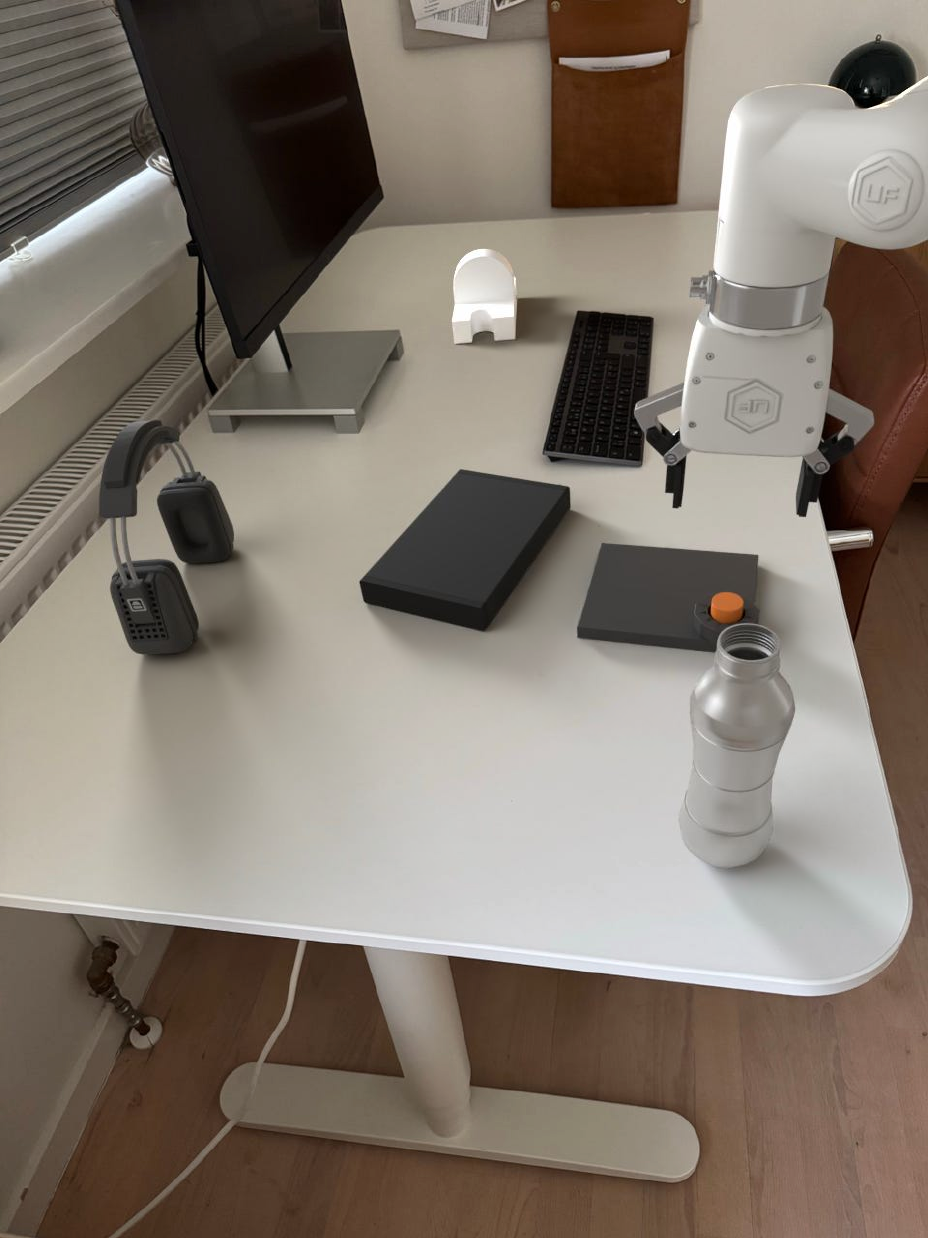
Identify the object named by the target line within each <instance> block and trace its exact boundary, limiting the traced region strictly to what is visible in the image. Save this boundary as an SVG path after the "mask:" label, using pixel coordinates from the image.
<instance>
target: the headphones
mask: <svg viewBox="0 0 928 1238" xmlns="http://www.w3.org/2000/svg"><path fill="white" fill-rule="evenodd" d="M173 443H174V445H175V446H176V447H177V448H178V449H179V451H180V453H181V454H182V455H183V458H184V459H185V462H186V464H187V466H188V469H189V472H188V471H186V467H185V465H184V462H183V460H182V458H181V456H180V454H179V453H178V450H176V448H175V446H174V445H173ZM163 444H164V445H165V446H166V447H167V448H168V449H169V450H170V451H171V453H172V454H173V456H174V458H175V460H176V462H177V465H178V466H179V468H180V472H181V475H180V477H174V478H173V479H172V480H171V481H170V482H167V483H166V484H165V485H163V486H162V488H161V489H160V490H159V493H158V494H157V497H156V506H157V509H158V512H159V515H160V516H161V519H162V523H163V525H164V527H165V530H166V532H167V535H168V537H169V540H170V542H171V545H172V547H173V550H174V552H175V554H176V556H177V558H178V559H179V561H181V562H183V563H186V564H206V563H217V562H222V561H225V560H226V559H228V557H230V554H231V553H232V552H233V550H234V541H235V532H234V531H235V530H234V527H233V523H232V520H231V517H230V515H229V512H228V509H227V508H226V505H225V503H224V501H223V497H222V496H221V493H220V491H219V489H218V487H217V485H216V484H215V482H213V481H212V480H211V479H207V477H206V476H205V475H202V473H201V471H196V470H195V468H194V465H193V462H192V459H191V458H190V456H189V453H188V452H187V450H186V448H185V447H184V446H183V445H182V444H183V443H181V442H180V431H179V430H178V429H176V428H175V427H172V426H168V425H163V423H162V420H159V419H152V420H140V421H133V422H130V423H129V424H127V425H125V426H124V427H123V428H122V429H121V430H120V431H119V433H118V434H117V435H116V437H115V439H114V441H113V443H112V444H111V446H110V448H109V450H108V453H107V456H106V457H105V460H104V464H103V468H102V471H101V472H102V473H101V476H100V477H101V478H100V485H99V494H98V516H99V517H100V518H103V519H109V525H110V526H109V528H110V529H109V531H110V542H111V546H112V553H113V557H114V560H115V565H116V569H115V571H114V572H113V574H112V577H111V580H110V586H109V592H110V596H111V600H112V602H113V605H114V608H115V611H116V615H117V617H118V620H119V623H120V625H121V628H122V631H123V634H124V638H125V640H126V643H127V645H128V647H129V649H130V650H131V651H132V652H133V653H136V654H138V655H144V656H145V655H160V654H162V655H163V654H164V655H165V654H177V653H182V652H185V651H187V650H189V648H190V647H191V645H192V644H193V643H194V642H196V640H197V638H198V635H199V628H200V621H199V618H198V615H197V612H196V610H195V607H194V604H193V602H192V600H191V597H190V595H189V592H188V589H187V587H186V584H185V582H184V579H183V577H182V574H181V571H180V570H179V568H178V566H177V565H176V563H175V562H174V561H172V560H170V559H166V558H150V559H138V560H132V557H131V553H130V547H129V541H128V533H127V532H128V531H127V518H134V517H137V515H138V487H137V484H138V483H139V481H140V479H141V476H142V473H143V469H144V465H145V463H146V461H147V458H148V457H149V454H150V453H151V451H152V450H153V449H154V448H155V446H157V445H163ZM117 519H120V534H121V543H122V549H123V554H124V558H125V562H122V560H121V559H122V558H121V555H120V551H119V547H118V546H119V545H118V537H117Z"/></svg>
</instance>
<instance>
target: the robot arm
mask: <svg viewBox="0 0 928 1238" xmlns="http://www.w3.org/2000/svg"><path fill="white" fill-rule="evenodd" d="M722 163H723V164H722V172H721V185H720V193H719V194H720V195H719V203H718V204H719V205H718V215H717V224H716V236H715V247H714V257H713V270H708V274H702V276H691V277H690V284H689V285H690V287H689V298H699V300H705V304H706V305H705V306H703V307H702V308H701V310H700V312H699V315H698V317H697V321H696V322H695V326H694V330H693V332H692V337H691V340H690V345H689V353H688V356H687V362H686V367H685V368H686V369H685V376H684V381H683V382H681V383H679V384H676V385H674V386H672V387H669V388H667V389H665V390H662V391H660V392H657V393H655V394H652V395H650V396H648V397H645V398H643V399H641V400H638V401H637V402H636V403H635V407H634V411H633V416H634V418H635V420H636V421H637V424H638V426H639V427H640V429H641V431H642V432H643V434H644V436H645V441H646V442H647V443H648V444H649V445H650V446H651V447H652V448H653V449H654V450H655V451H656V452H657V453H658V454H659V455H660V456H661V457H662V458H663V462H664V464H665V465H666V475H665V489H664V493H665V494H673V495H672V509H679V508H682V505H683V498H684V497H683V496H684V489H685V478H686V469H687V468H686V467H687V455H688V454H689V453H691V452H692V451H693V452H697V453H702V454H714V455H730V456H731V455H732V456H749V457H750V456H751V457H769V458H800V457H802V459H801V466H800V470H799V475H798V481H797V487H796V491H795V513H796V514H795V515H797V516H798V517H799V518H807V514H808V509H809V504H810V503H815V504H816V503H818V500H819V495H820V490H821V486H822V481H823V475H824V474H826V473H827V472H829V470H830V467H831V466H832V465H834V464H835V463H837V462H838V461H841V459H843V458H844V457H846V456H847V455H849V454H850V453H852V452H853V451H854V450H855V446H856V445H857V444H858V443H859V442H860V441H861V440H862V439H863V438H864V437H865V436H866V435H867V433H869V432H870V430H871V429H872V428H873V427H874V425H875V418H874V417H875V416H874V413H873V411H872V410H871V409H869V408H867V407H865V406H863V405H861V404H860V403H858V402H856V401H854V400H852V399H850V398H848V397H847V396H844V395H843V394H841V393H839V392H837V391H835V390H833V389H831V388H830V382H831V375H832V362H833V353H834V352H833V351H834V323H833V318H832V316H831V313H830V311H829V310H828V309H827V308H826V307H825V306H824V303H825V298H826V292H827V287H828V283H829V275H830V270H831V264H832V260H833V254H834V247H835V243H836V238H838V239H841V240H843V241H847V242H849V243H852V244H856V245H859V246H863V247H866V248H871V249H879V250H901V249H906V248H911V247H914V246H916V245H919V244H921V243H923V242H926V241H928V75H927V76H926V77H924V78H923V79H921V80H919V81H918V82H916V83H915V84H913V85H912V86H910V87H909V88H907V89H906V90H904V91H902V92H901V93H900V94H898V96H897V95H896V96H895V97H894V98H893V99H891V100H889V101H886V102H883V103H881V104H878V105H875V106H872V107H869V108H856V104H855V102H854V100H853V98H852V97H851V96H850V95H849V94H848V93H847V92H846V91H844V90H843V89H840V88H837V87H835V86H832V85H831V86H829V85H825V84H824V85H823V84H815V83H814V84H813V83H794V84H793V83H791V84H781V85H773V86H767V87H762V88H760V89H756V90H754V91H752V92H748V93H747V94H745V95H743V96H742V97H740V99H738V100H737V102H736V103H735V104H734V106H733V107H732V110H731V112H730V114H729V117H728V120H727V126H726V134H725V143H724V152H723V162H722ZM678 408H680V418H679V421H680V422H679V427H678V428H677V429H675V430H674V431H673V432H671V431H670V430H669V429H668V428H667V427H666V426H665V425H664V424H663V423H662V422H660V419H659V417H658V416H660V415H662V414H666V413H668V412H670V411H673V410H675V409H678ZM826 414H828V415H830V416H831V417H834V418H835V419H837V420H839V421H842V422H843V423H845V424H844V427H843V429H840V430H839V431H838V432H836V433H834V434H833V435H831V436H830V437H828V438H827V439H826V440H824V439H823V438H822V434H823V430H824V425H825V424H824V423H825V419H826Z"/></svg>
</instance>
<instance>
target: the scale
mask: <svg viewBox="0 0 928 1238" xmlns="http://www.w3.org/2000/svg"><path fill="white" fill-rule="evenodd" d="M596 557H597V558H596V561H595V565H594V568H593V572H592V574H591V578H590V582H589V584H588V589H587V591H586V595H585V599H584V602H583V605H582V608H581V609H582V610H581V611H580V615H579V619H578V622H577V626H576V634H577V635H576V636H577V638H578V639H587V640H596V641H605V642H613V643H614V642H615V643H625V644H631V645H632V644H634V645H642V646H652V647H661V648H671V649H679V650H680V649H681V650H688V651H689V650H690V651H698V652H707V653H708V652H709V653H715V652H716V650H717V641H718V638H719V635H720V634H721V632H722V631H723V630H725V629H726V628H728V627H730V626H732V625H736V624H742V623H752V624H758V625H759V620H760V608H759V607H758V605H756V595H757V583H758V582H757V579H758V570H759V569H758V568H759V554H754V553H753V554H752V553H739V552H726V551H715V550H703V549H702V550H699V549H687V548H673V547H663V546H649V545H635V544H622V543H611V542H609V543H608V542H601V543H600V548H599V551H598V554H597V556H596ZM722 592H730V593H734V594H737V595H739V596H740V597H741V598H742V599H743V602H744V604H743V613H742V617H741V619H740V620H739V621H738V622H735V623H731V624H728V623H720V622H718V621H716V620H714V619H713V618H712V616H711V603H712V598H713V597H714V596H715V595H716V594H719V593H722Z"/></svg>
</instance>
